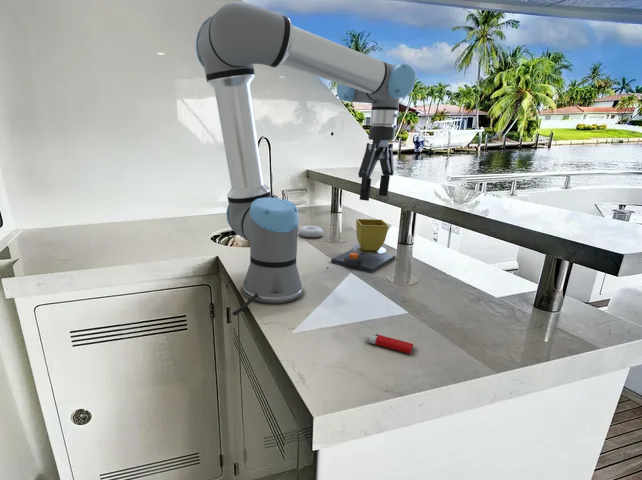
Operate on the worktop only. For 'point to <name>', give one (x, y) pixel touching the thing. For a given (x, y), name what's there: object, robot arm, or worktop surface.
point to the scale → (363, 261)
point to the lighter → (391, 343)
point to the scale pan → (368, 251)
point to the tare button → (353, 255)
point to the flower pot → (371, 233)
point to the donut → (310, 231)
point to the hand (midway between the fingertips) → (373, 198)
